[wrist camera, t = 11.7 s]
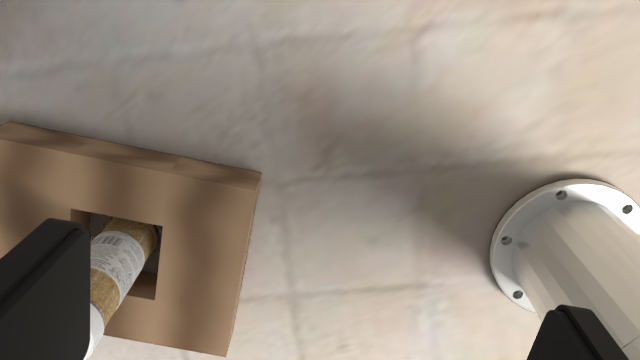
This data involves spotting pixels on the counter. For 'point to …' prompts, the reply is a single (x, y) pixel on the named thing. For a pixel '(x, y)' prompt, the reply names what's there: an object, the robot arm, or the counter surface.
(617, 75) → the counter surface
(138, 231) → the sprinkles bottle
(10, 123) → the spice holder
